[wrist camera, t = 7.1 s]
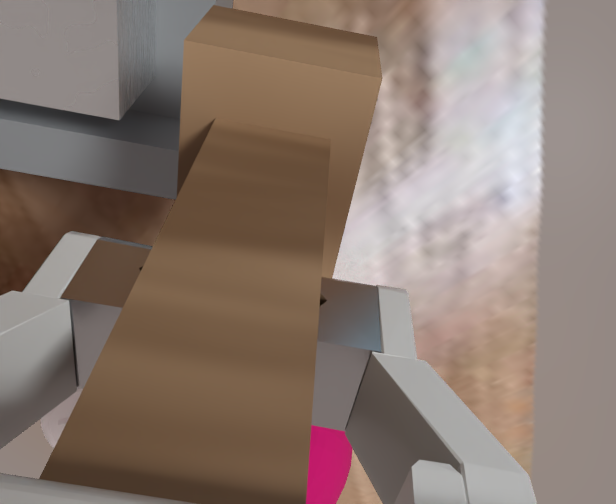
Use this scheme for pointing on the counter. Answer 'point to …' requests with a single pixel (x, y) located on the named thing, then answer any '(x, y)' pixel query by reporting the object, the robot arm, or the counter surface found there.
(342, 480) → the pepper mill
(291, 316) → the brown bar
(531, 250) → the counter surface
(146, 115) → the groove board
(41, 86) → the grey cube
